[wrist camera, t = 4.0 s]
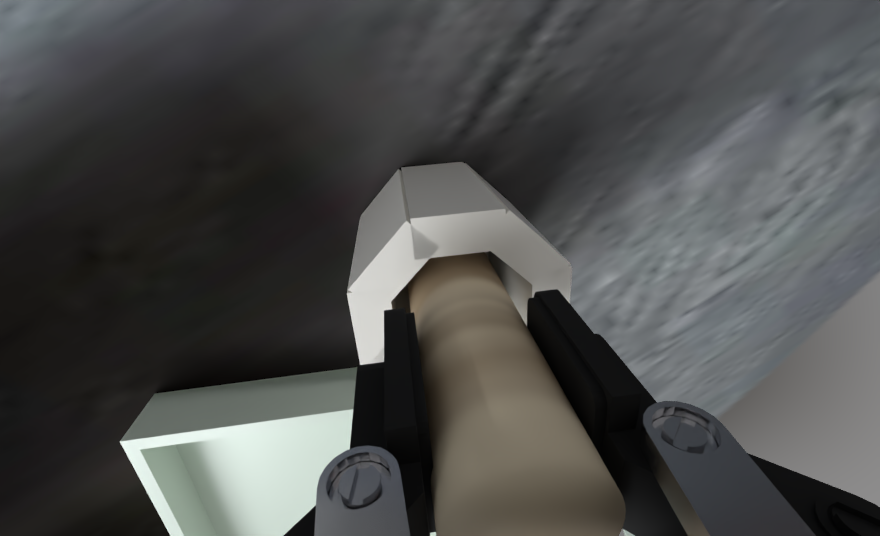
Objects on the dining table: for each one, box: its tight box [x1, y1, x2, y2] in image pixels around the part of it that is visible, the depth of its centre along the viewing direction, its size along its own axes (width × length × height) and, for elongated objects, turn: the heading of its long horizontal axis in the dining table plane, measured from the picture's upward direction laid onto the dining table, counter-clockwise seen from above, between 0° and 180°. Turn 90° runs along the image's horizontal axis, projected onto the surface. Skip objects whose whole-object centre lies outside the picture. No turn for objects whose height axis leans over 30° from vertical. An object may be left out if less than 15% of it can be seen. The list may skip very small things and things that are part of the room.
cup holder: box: [347, 162, 572, 365], centre depth 16 cm, size 7×7×7 cm
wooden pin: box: [408, 252, 626, 536], centre depth 12 cm, size 3×3×12 cm
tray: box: [120, 367, 436, 536], centre depth 23 cm, size 17×17×3 cm
